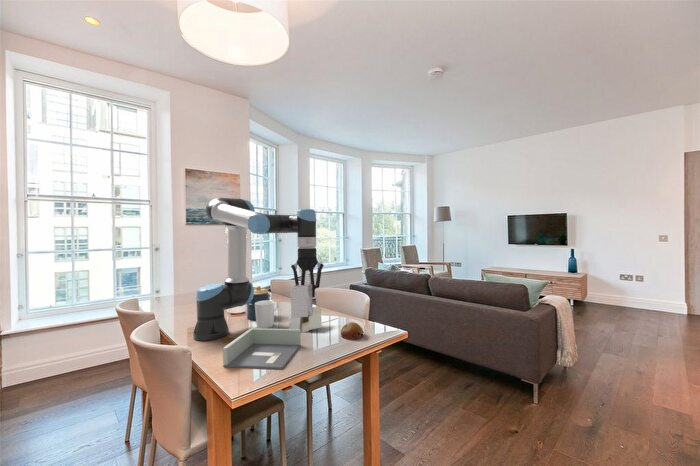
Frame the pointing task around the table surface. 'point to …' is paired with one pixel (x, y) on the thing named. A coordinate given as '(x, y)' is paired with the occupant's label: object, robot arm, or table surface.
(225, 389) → the table surface
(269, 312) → the candle holder
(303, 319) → the wall
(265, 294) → the canister
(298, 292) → the angle bracket
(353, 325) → the bread roll
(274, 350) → the corner tray
